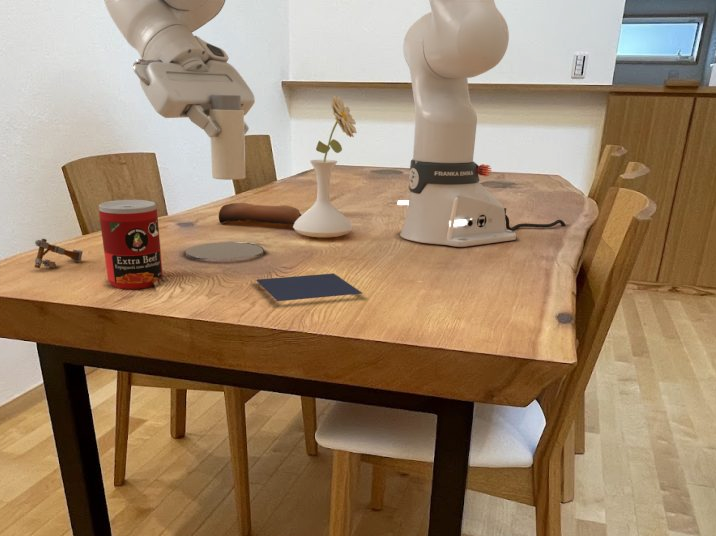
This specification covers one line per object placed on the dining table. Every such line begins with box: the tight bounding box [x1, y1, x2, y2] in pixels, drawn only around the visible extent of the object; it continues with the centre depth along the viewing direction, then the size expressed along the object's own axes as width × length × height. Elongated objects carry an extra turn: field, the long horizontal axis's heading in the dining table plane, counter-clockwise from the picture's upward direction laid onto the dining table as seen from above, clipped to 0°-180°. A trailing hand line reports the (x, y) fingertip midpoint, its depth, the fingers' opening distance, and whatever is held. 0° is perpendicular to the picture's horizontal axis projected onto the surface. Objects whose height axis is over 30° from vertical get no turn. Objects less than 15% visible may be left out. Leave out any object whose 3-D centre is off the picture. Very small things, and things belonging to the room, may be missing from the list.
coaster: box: [185, 241, 264, 261], centre depth 112 cm, size 13×13×1 cm
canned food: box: [98, 199, 164, 290], centre depth 93 cm, size 8×8×11 cm
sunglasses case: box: [218, 202, 302, 226], centre depth 136 cm, size 18×7×7 cm, turn 73°
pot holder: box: [255, 272, 363, 302], centre depth 92 cm, size 12×11×1 cm
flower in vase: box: [292, 94, 357, 239], centre depth 123 cm, size 13×11×25 cm
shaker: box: [209, 95, 247, 181], centre depth 102 cm, size 5×5×12 cm
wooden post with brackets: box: [34, 238, 83, 269], centre depth 102 cm, size 2×8×4 cm, turn 151°
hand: (230, 133), depth 101 cm, fingers closed on shaker, 5 cm apart
